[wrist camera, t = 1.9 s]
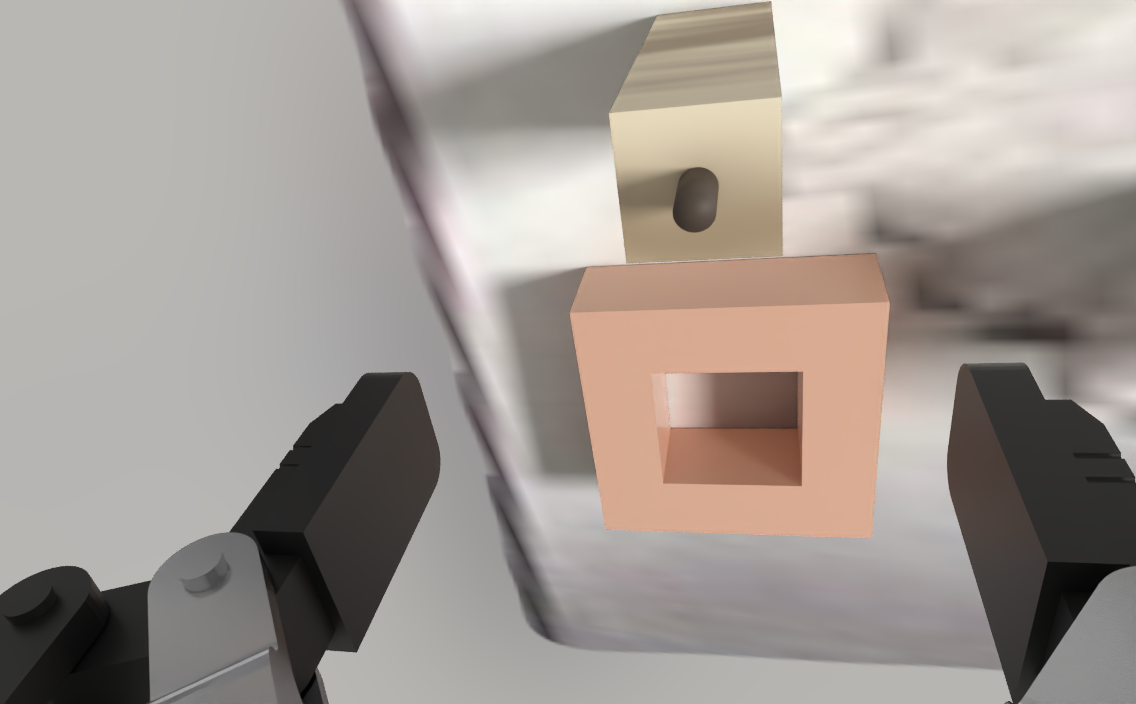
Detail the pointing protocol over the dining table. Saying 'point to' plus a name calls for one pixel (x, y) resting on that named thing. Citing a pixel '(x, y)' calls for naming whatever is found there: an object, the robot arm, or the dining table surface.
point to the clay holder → (724, 345)
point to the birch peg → (701, 138)
